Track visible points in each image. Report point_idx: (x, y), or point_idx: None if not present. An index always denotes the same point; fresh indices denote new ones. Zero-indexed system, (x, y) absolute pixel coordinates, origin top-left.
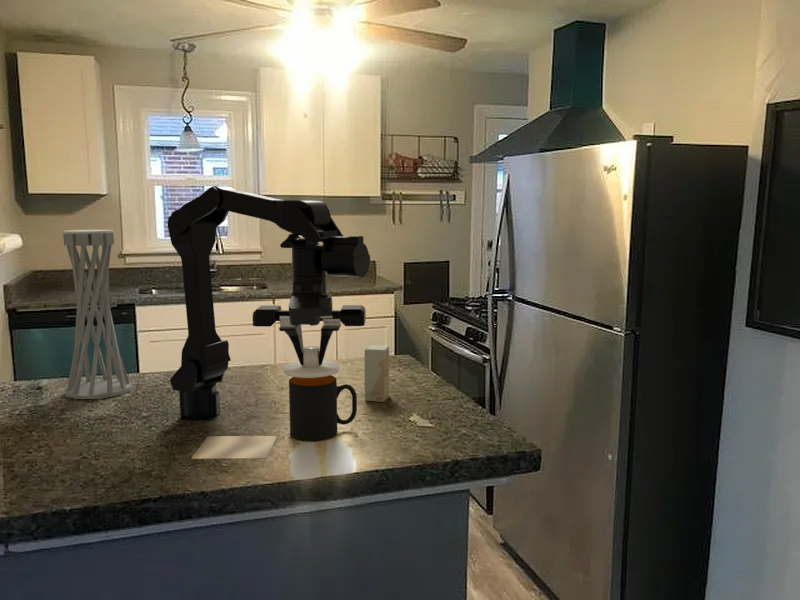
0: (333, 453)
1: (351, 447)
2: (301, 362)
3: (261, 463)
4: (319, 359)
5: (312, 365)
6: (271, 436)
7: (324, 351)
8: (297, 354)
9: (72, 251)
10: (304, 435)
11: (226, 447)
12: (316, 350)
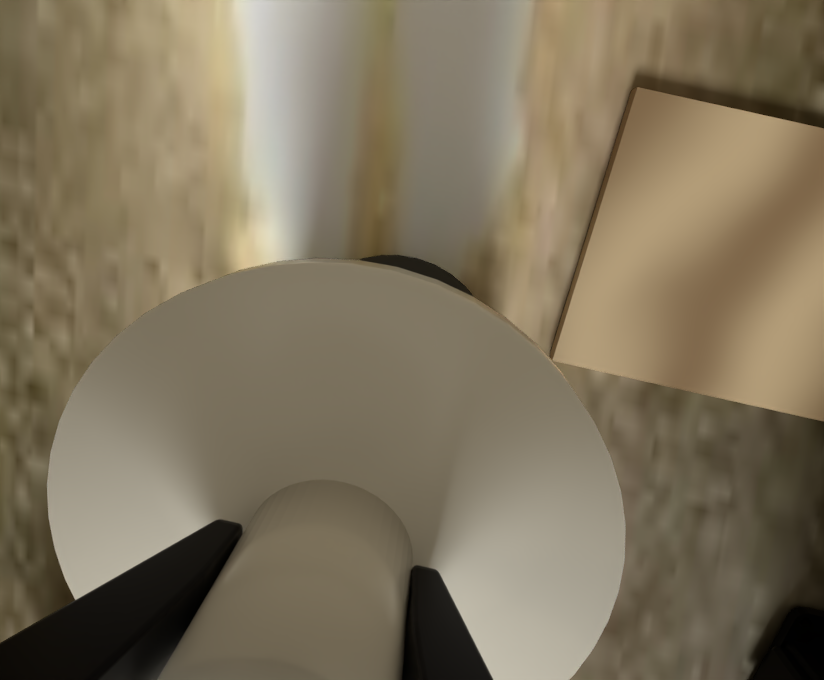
0: (326, 130)
1: (243, 186)
2: (429, 584)
3: (656, 77)
4: (209, 555)
5: (314, 497)
6: (577, 359)
7: (70, 606)
8: (481, 668)
9: None
10: (440, 273)
11: (795, 270)
12: (185, 651)
